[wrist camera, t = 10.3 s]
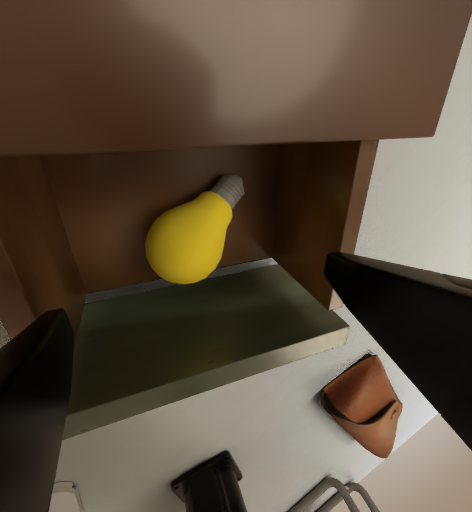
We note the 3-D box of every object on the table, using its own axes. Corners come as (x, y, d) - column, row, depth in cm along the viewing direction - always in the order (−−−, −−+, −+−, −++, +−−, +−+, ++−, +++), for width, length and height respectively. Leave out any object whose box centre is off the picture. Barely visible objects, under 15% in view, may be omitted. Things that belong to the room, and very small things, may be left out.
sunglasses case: (405, 403, 39) (424, 460, 34) (356, 407, 42) (367, 460, 37) (375, 350, 29) (396, 419, 24) (314, 360, 32) (321, 424, 27)
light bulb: (129, 252, 13) (124, 254, 10) (203, 164, 14) (222, 138, 11) (183, 292, 14) (196, 306, 11) (249, 206, 15) (279, 195, 12)
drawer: (276, 321, 21) (332, 395, 15) (91, 374, 17) (76, 500, 11) (297, 66, 13) (424, 29, 8) (-35, 48, 9) (-276, -59, 4)
